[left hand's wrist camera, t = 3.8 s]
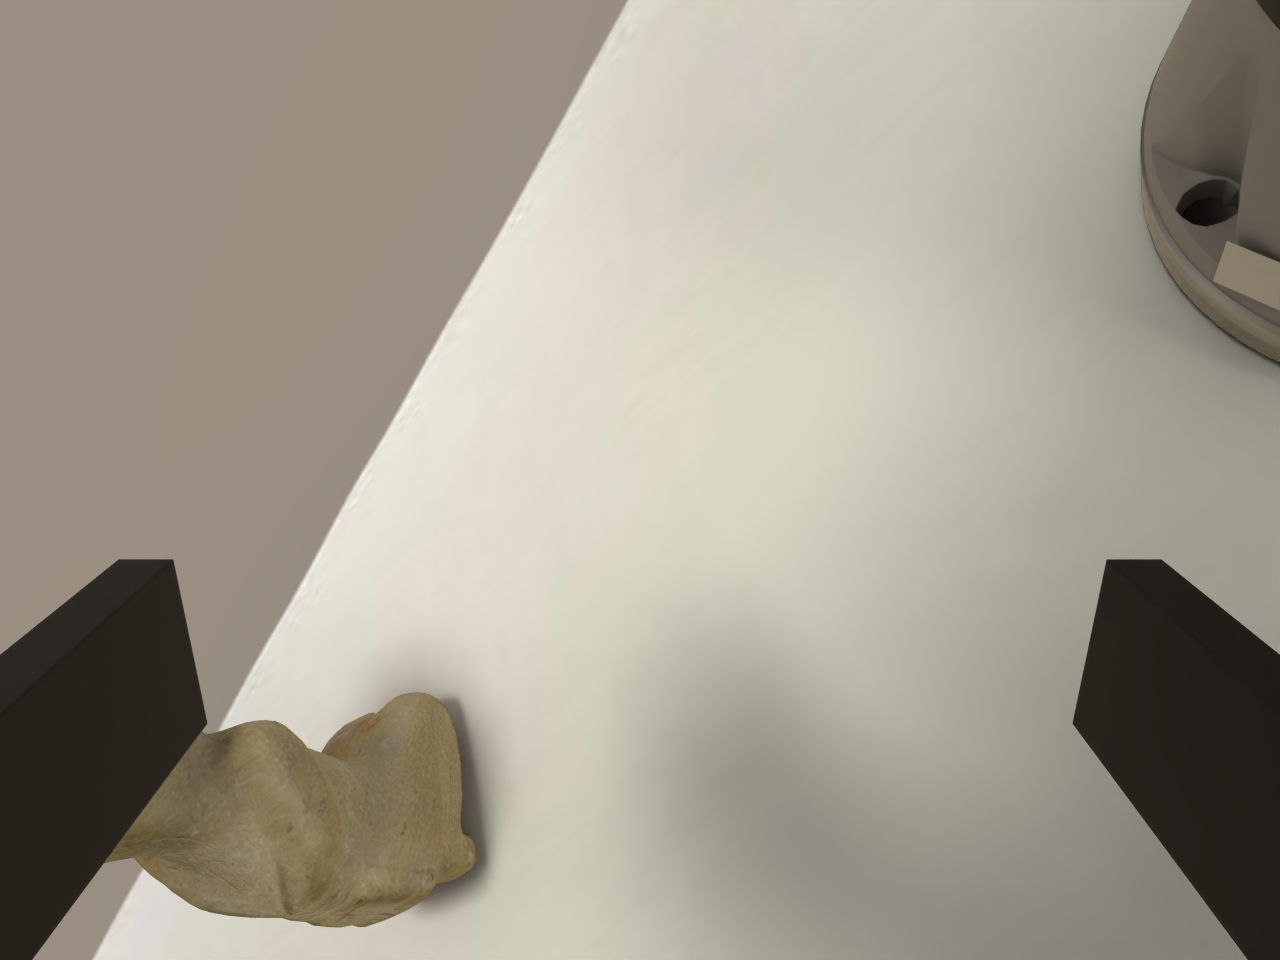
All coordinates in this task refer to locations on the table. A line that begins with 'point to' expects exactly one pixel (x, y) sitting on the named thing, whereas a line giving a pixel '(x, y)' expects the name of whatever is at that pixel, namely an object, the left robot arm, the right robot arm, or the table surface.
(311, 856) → the sculpture
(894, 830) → the table surface
